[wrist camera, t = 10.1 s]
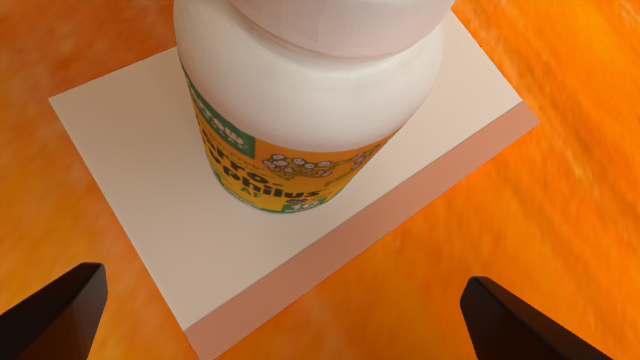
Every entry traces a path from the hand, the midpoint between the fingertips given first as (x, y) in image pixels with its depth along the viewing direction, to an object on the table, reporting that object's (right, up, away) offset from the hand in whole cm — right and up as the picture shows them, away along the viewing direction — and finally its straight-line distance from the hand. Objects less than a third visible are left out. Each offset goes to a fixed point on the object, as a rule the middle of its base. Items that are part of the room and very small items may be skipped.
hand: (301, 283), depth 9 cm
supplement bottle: (-2, +4, +9) cm, 10 cm away
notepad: (+1, +6, +11) cm, 12 cm away
